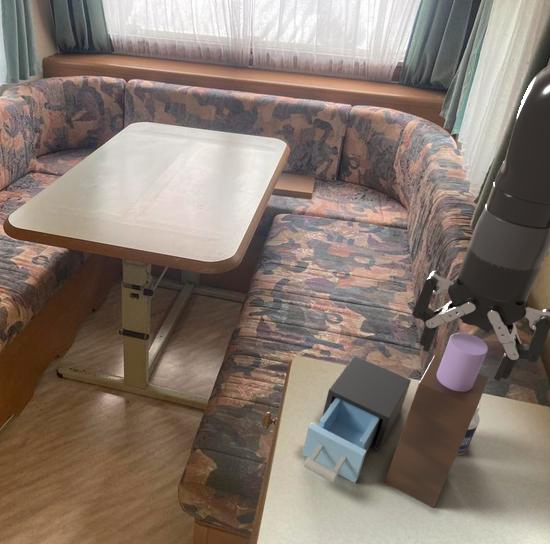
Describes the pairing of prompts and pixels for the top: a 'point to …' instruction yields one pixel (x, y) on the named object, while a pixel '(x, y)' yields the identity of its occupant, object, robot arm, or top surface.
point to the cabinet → (371, 392)
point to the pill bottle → (469, 432)
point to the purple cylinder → (461, 362)
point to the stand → (432, 435)
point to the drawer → (340, 441)
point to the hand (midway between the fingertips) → (461, 362)
